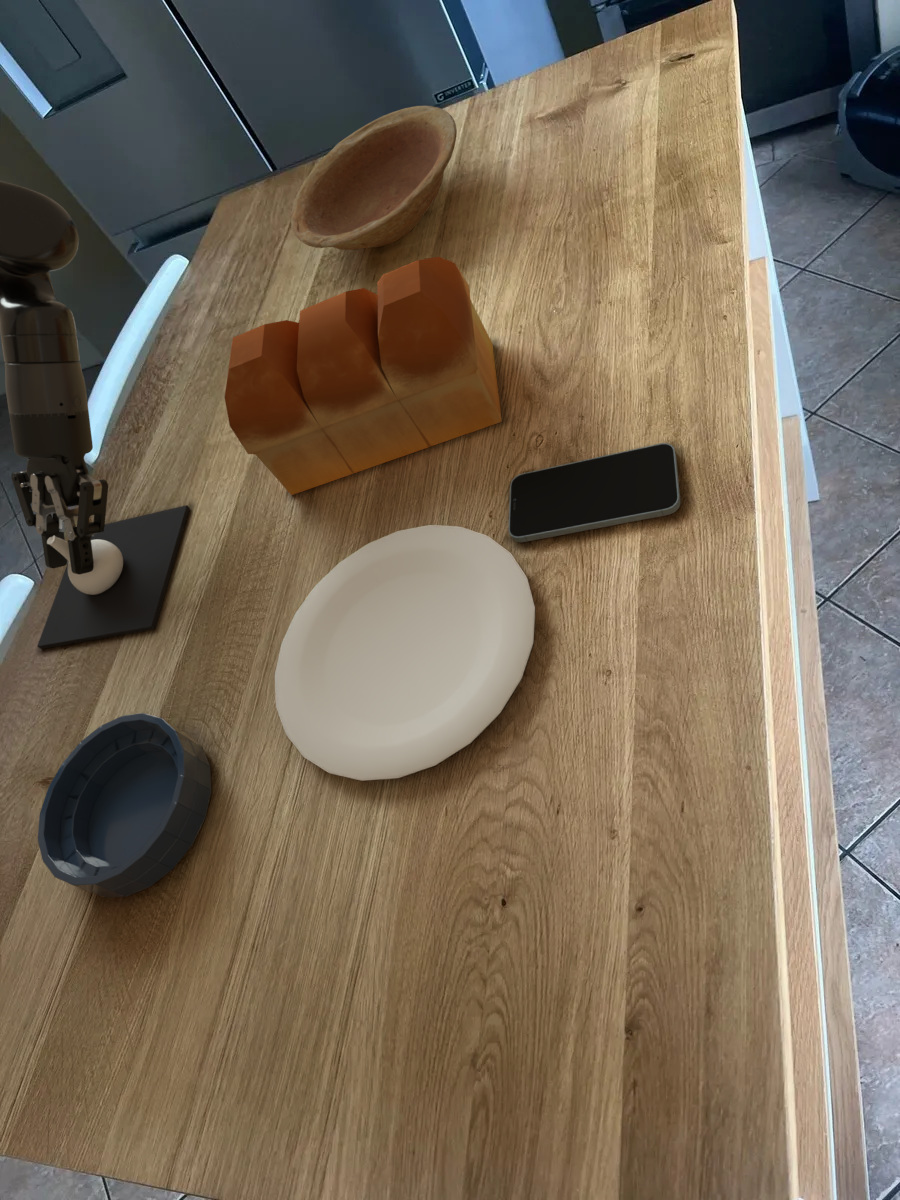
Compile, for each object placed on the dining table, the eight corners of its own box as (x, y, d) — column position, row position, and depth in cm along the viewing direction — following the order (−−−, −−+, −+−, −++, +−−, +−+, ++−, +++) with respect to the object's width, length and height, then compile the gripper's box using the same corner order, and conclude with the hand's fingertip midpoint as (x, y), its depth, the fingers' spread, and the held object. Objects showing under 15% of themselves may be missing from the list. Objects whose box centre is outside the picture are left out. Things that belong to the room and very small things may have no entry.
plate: (353, 849, 71) (343, 843, 70) (245, 651, 87) (235, 642, 86) (600, 650, 71) (594, 640, 70) (447, 489, 87) (440, 478, 86)
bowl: (334, 190, 128) (305, 139, 122) (490, 138, 118) (466, 80, 112) (298, 305, 116) (264, 255, 110) (468, 258, 106) (441, 200, 100)
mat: (40, 649, 100) (36, 646, 100) (83, 532, 109) (79, 530, 108) (155, 629, 94) (151, 626, 94) (190, 508, 103) (186, 504, 102)
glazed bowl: (53, 901, 81) (15, 887, 77) (101, 741, 89) (69, 722, 85) (192, 896, 75) (157, 881, 71) (231, 725, 83) (201, 705, 79)
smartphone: (679, 507, 74) (508, 540, 80) (682, 514, 75) (511, 546, 80) (673, 440, 78) (510, 475, 84) (675, 446, 79) (513, 481, 84)
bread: (287, 498, 97) (204, 405, 85) (293, 417, 104) (217, 320, 92) (506, 422, 89) (446, 309, 78) (495, 340, 96) (439, 225, 85)
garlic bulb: (137, 549, 101) (86, 508, 95) (115, 597, 99) (62, 558, 92) (96, 552, 104) (45, 512, 98) (75, 599, 101) (20, 560, 95)
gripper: (-25, 407, 93) (-1, 568, 98) (57, 413, 86) (79, 587, 91) (41, 402, 99) (61, 554, 104) (123, 407, 92) (141, 571, 97)
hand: (70, 568), depth 97 cm, fingers closed on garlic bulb, 4 cm apart
